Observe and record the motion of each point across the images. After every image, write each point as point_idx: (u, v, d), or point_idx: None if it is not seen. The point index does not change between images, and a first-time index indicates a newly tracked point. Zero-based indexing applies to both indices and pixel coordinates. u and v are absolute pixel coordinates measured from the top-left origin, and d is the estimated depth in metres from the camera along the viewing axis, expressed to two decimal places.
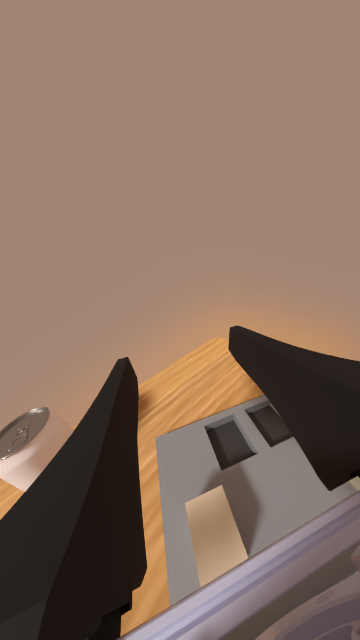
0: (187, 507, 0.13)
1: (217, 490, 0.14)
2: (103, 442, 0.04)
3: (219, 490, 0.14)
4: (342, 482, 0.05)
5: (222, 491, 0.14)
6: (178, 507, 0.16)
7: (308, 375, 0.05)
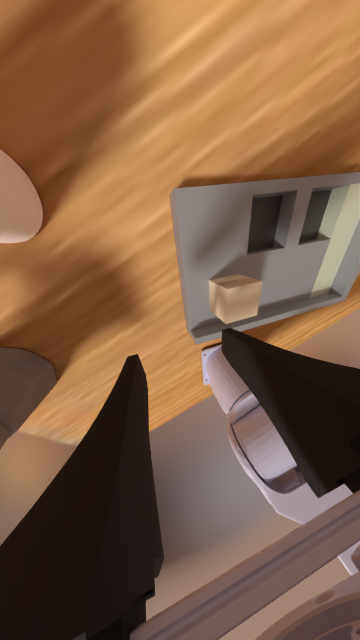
0: (228, 292, 0.14)
1: (257, 284, 0.14)
2: (123, 434, 0.04)
3: (258, 284, 0.14)
4: (329, 489, 0.05)
5: (260, 285, 0.14)
6: (200, 274, 0.16)
7: (295, 380, 0.05)
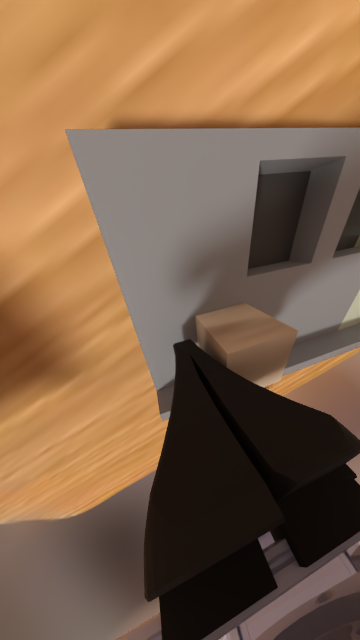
0: (230, 358, 0.07)
1: (287, 337, 0.07)
2: (212, 401, 0.05)
3: (290, 337, 0.07)
4: None
5: (293, 338, 0.07)
6: (162, 312, 0.09)
7: (224, 408, 0.05)
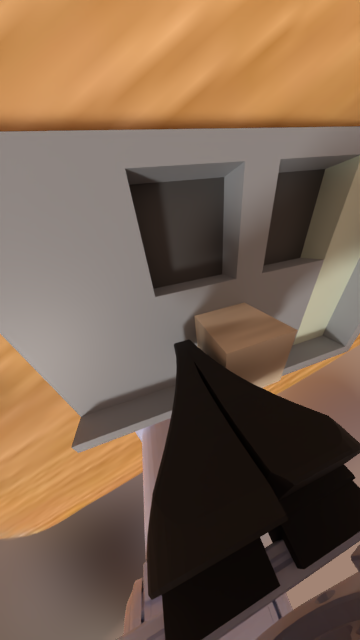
0: (229, 357, 0.06)
1: (287, 337, 0.07)
2: (213, 400, 0.05)
3: (289, 336, 0.07)
4: None
5: (292, 337, 0.07)
6: (54, 339, 0.08)
7: (222, 409, 0.05)
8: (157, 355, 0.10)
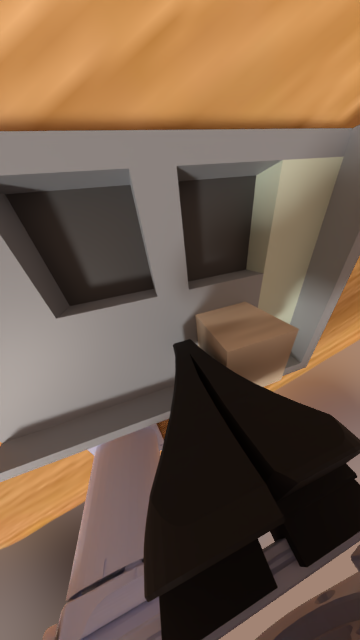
0: (230, 356, 0.06)
1: (288, 336, 0.07)
2: (212, 401, 0.05)
3: (290, 335, 0.07)
4: None
5: (293, 336, 0.07)
6: None
7: (224, 408, 0.05)
8: (80, 378, 0.10)
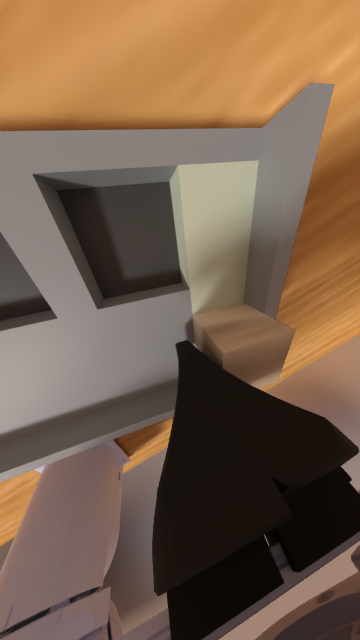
0: (226, 357, 0.06)
1: (285, 337, 0.07)
2: (216, 399, 0.05)
3: (287, 336, 0.07)
4: None
5: (290, 337, 0.07)
6: None
7: (219, 410, 0.05)
8: None
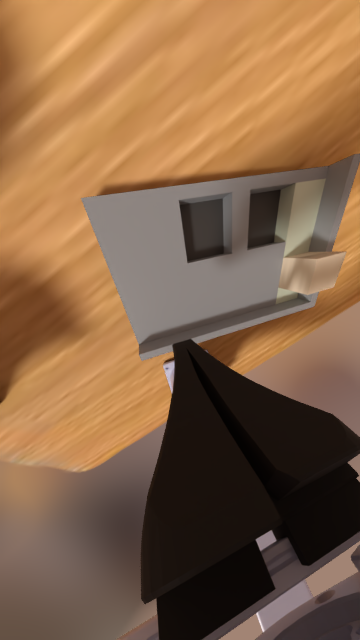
0: (317, 262, 0.15)
1: (341, 255, 0.15)
2: (210, 401, 0.05)
3: (342, 255, 0.15)
4: None
5: (344, 255, 0.15)
6: (135, 286, 0.15)
7: (225, 408, 0.05)
8: (186, 303, 0.17)
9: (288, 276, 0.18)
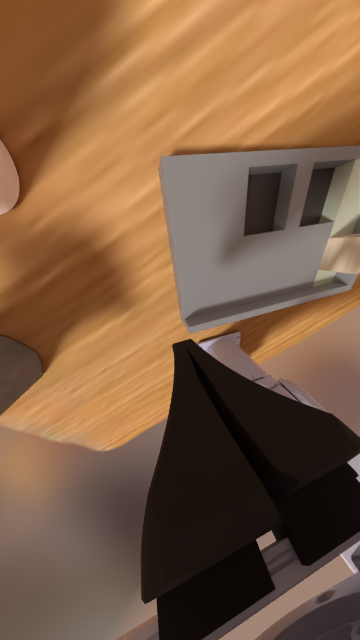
0: None
1: None
2: (210, 401, 0.05)
3: None
4: None
5: None
6: (193, 256, 0.15)
7: (225, 408, 0.05)
8: (234, 278, 0.18)
9: (332, 257, 0.19)
